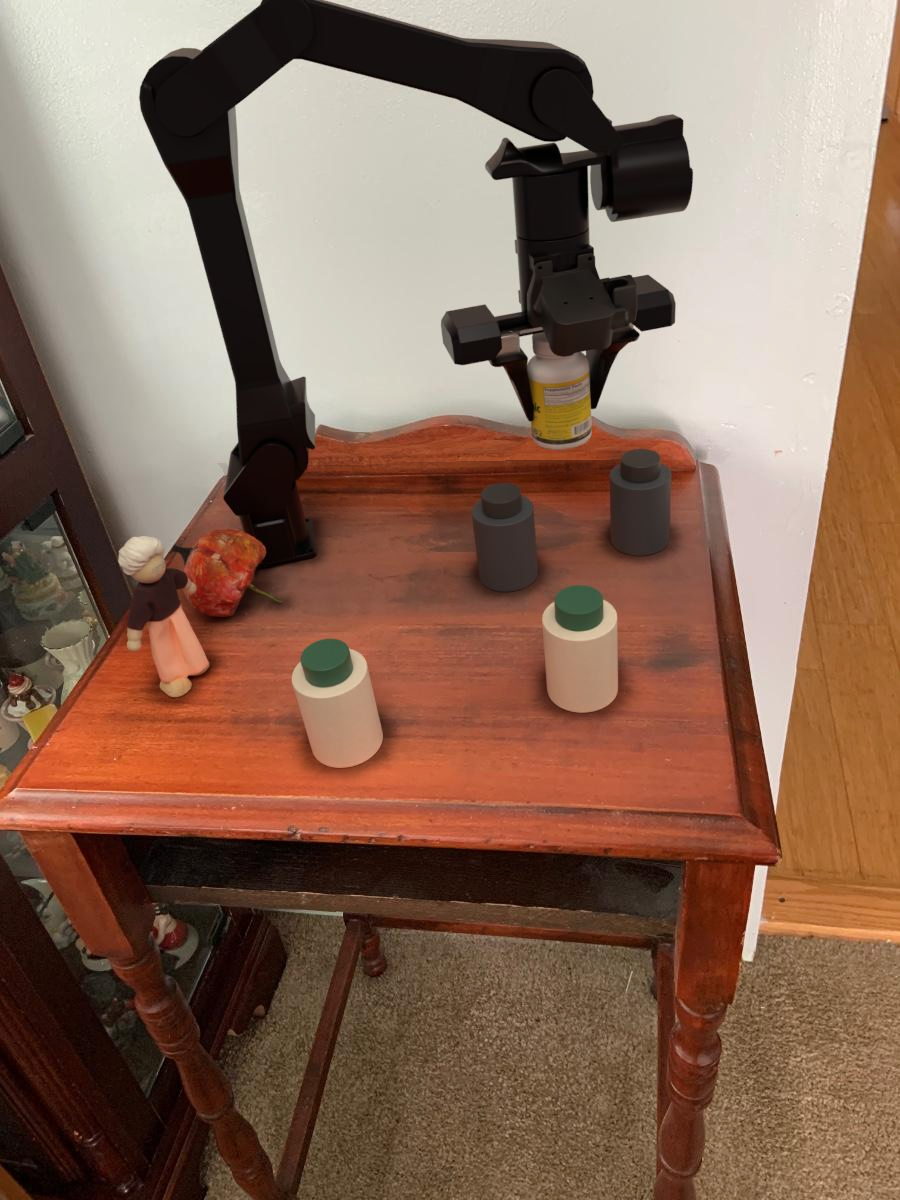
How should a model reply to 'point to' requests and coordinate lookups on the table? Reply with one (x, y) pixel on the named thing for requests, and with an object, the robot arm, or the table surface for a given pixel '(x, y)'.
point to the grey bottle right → (640, 503)
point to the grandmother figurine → (161, 615)
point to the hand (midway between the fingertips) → (560, 413)
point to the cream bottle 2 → (581, 650)
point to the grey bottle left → (505, 538)
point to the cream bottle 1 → (337, 704)
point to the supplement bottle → (559, 397)
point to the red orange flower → (222, 570)
